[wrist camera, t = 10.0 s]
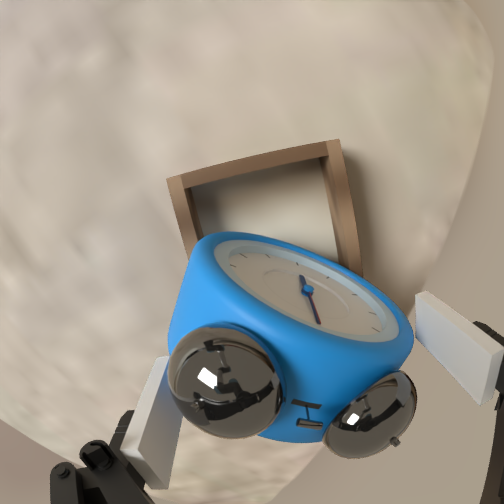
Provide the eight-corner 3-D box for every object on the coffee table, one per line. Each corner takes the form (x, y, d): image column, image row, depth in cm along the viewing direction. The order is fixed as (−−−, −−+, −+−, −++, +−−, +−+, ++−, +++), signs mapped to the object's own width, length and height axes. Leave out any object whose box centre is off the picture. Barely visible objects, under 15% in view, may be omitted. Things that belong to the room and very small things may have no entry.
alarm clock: (371, 271, 24) (474, 398, 9) (338, 335, 25) (394, 482, 11) (213, 213, 22) (144, 317, 8) (189, 286, 24) (123, 436, 10)
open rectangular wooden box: (177, 177, 24) (166, 178, 20) (325, 143, 23) (339, 138, 20) (236, 376, 29) (236, 401, 25) (357, 346, 28) (370, 368, 25)
